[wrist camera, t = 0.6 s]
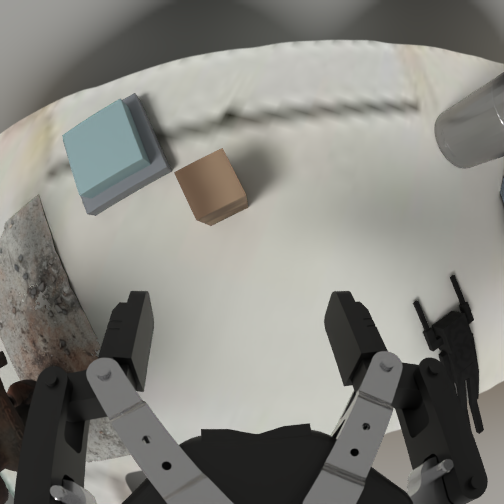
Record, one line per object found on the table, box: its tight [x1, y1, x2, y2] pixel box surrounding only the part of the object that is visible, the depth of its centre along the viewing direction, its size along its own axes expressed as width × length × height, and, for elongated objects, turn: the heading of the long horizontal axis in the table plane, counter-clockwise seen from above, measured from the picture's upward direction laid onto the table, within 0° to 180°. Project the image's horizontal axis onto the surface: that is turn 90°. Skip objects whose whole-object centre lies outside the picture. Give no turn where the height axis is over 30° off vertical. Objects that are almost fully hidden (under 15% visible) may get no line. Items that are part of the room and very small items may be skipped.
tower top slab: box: [62, 99, 151, 198], centre depth 34 cm, size 9×9×3 cm
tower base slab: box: [63, 93, 172, 216], centre depth 37 cm, size 12×12×3 cm
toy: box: [413, 275, 484, 434], centre depth 37 cm, size 8×6×30 cm
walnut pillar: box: [174, 148, 248, 226], centre depth 33 cm, size 5×5×10 cm
